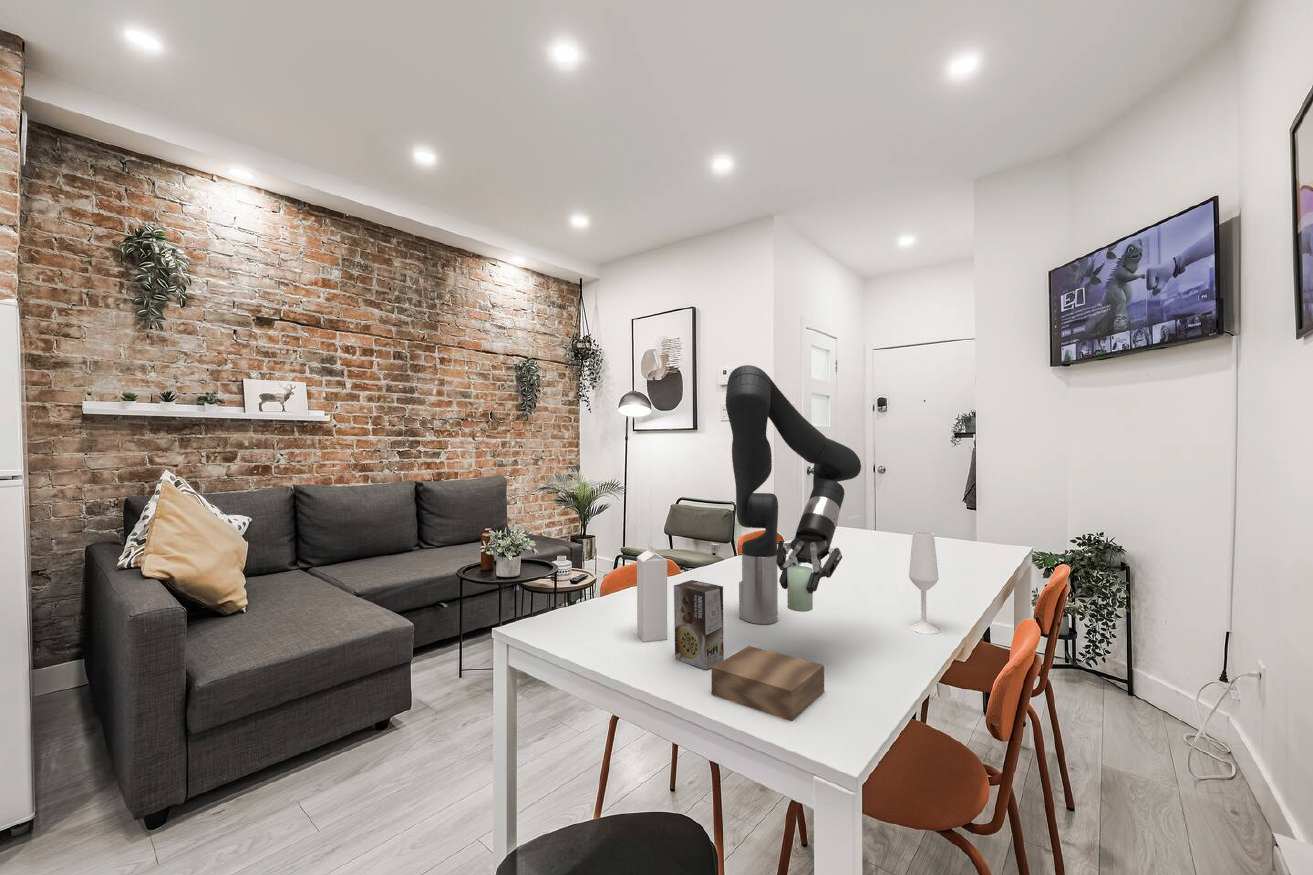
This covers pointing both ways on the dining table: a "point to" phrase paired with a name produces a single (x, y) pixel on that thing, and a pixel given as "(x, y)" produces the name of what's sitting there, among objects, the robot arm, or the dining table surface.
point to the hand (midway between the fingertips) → (796, 588)
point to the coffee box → (698, 623)
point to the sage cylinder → (799, 589)
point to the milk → (651, 596)
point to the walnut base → (768, 681)
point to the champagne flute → (923, 573)
